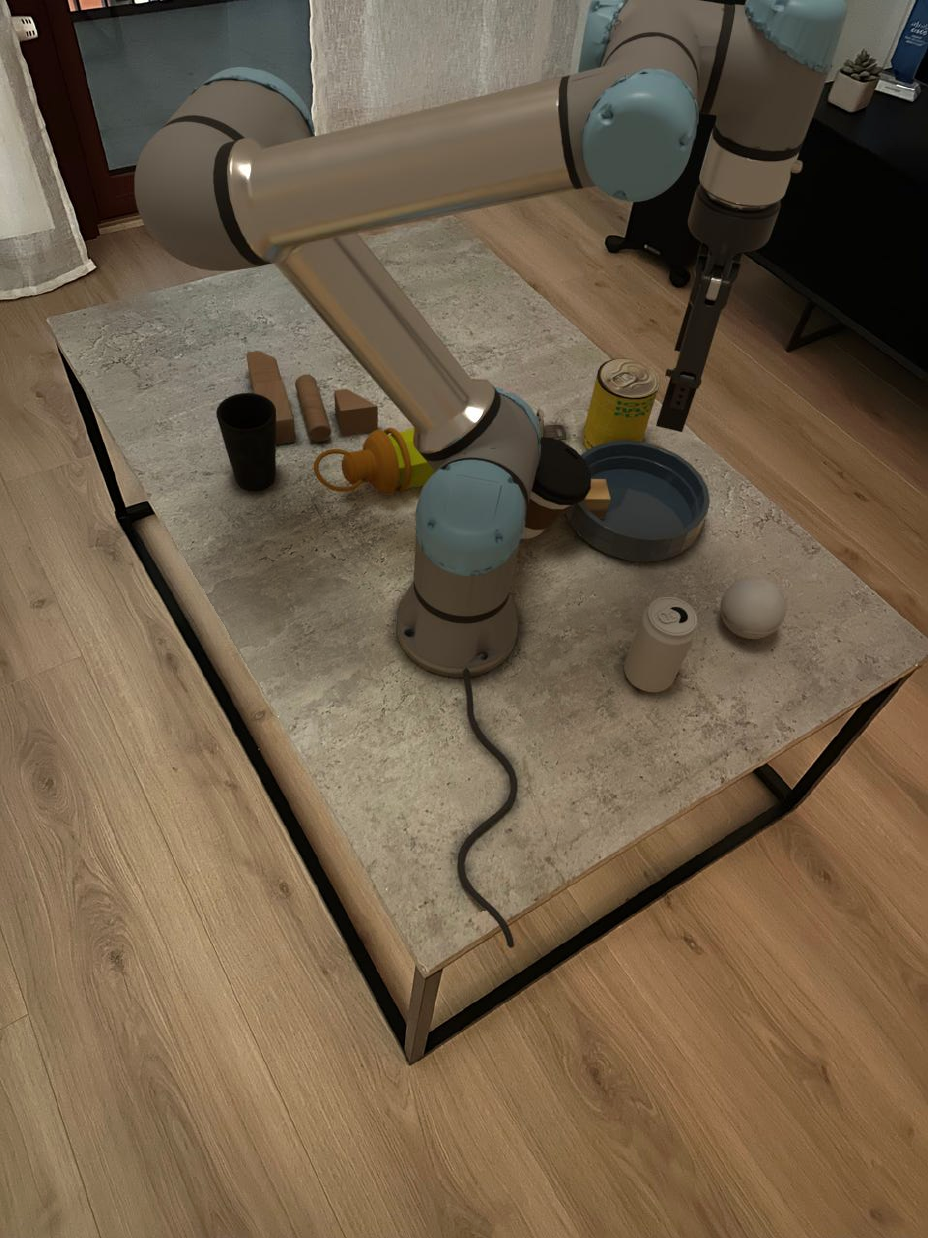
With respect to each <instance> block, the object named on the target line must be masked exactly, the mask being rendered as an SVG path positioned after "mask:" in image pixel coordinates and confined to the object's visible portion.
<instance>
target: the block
mask: <svg viewBox="0 0 928 1238" xmlns="http://www.w3.org/2000/svg"><path fill="white" fill-rule="evenodd" d="M582 502H583V504H584V505H585V506H586V507H587V509H588V510H589V511H590V512H591V513H592V514H594V515H595V516H596V517H597V518H599V519H605V516H606V513H607V509H608V506H609V503H610V495H609V491H608V487H607V483H606V479H591V489H590V491H589V493H588V494H587V496H586V498H585V499H584V500H583V501H582Z"/></svg>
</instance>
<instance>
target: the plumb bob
mask: <svg viewBox="0 0 928 1238" xmlns="http://www.w3.org/2000/svg"><path fill="white" fill-rule="evenodd" d="M413 436H414V428H411V429H405V430H402V431H398V430H397V429H396V428H394V427H387V428H385V429H384V430H381V429H378V430H375V431H373V432H370V434H368V436H367V437H366V439H365V440H364V443H363V445H362V449H360V450H355V451H348V450H346V449H341V448H331V449H327V450H324V451H323V452H321V453H320V454H319V455H317V457H316V458H315V460H314V463H313V473H314V475H315V478H316V479H317V480H318V482H320V483H321V484H322V486H324V487H326V488H327V489H329V490H332V491H334V492H341V493H347V492H352V491H354V490H356V489H357V488H359V487H360V486H361V485H362V484H365V483H369V484H370V486H371V487H372V488H373V489H374V490H376V491H377V492H378V493H380V494H382V495H385V496H391V495H393V494H394V493H395V492H396V493H400V494H401V493H404V492H405V491H407V489H410V488H420V487H422V488H423V487H424V485H425V484H426V482H427V481H428V479H429V478H430V477H431V476H432V475H433V474H434V473H435V472H434V470H433V468H432V467H431V466H430V464H429V463H428V462H427V461H426V460H425V459H424V458H423V456H422V455H421V454H420V453H419V452H418V451H417V449H416V448H415V447H414V444H413ZM334 454H336V455H343V457H342V460H341V471H342V474H343V477H344V479H345V481H346V482H348V483H349V484H350V485H349V486H337V485H334V484H332V483H329V482H328V481H327V480H326V479H324V477H323V476H322V475H321V472H320V470H319V466H320V462H321V461H322V459H323V458H325V457H326V456H329V455H334Z"/></svg>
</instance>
